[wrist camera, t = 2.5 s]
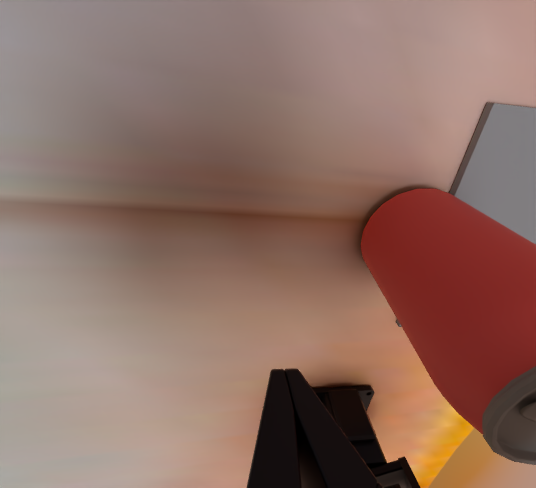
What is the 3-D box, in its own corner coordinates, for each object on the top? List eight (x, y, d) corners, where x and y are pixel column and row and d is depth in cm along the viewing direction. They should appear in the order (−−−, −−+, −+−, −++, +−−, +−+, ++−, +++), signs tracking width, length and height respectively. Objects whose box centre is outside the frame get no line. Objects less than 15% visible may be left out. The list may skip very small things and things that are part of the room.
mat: (543, 320, 26) (549, 325, 25) (395, 322, 24) (399, 326, 23) (687, 125, 18) (699, 127, 18) (486, 102, 16) (494, 103, 15)
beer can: (376, 177, 17) (554, 325, 7) (480, 192, 18) (791, 351, 7) (345, 269, 20) (434, 468, 10) (434, 280, 21) (607, 478, 10)
